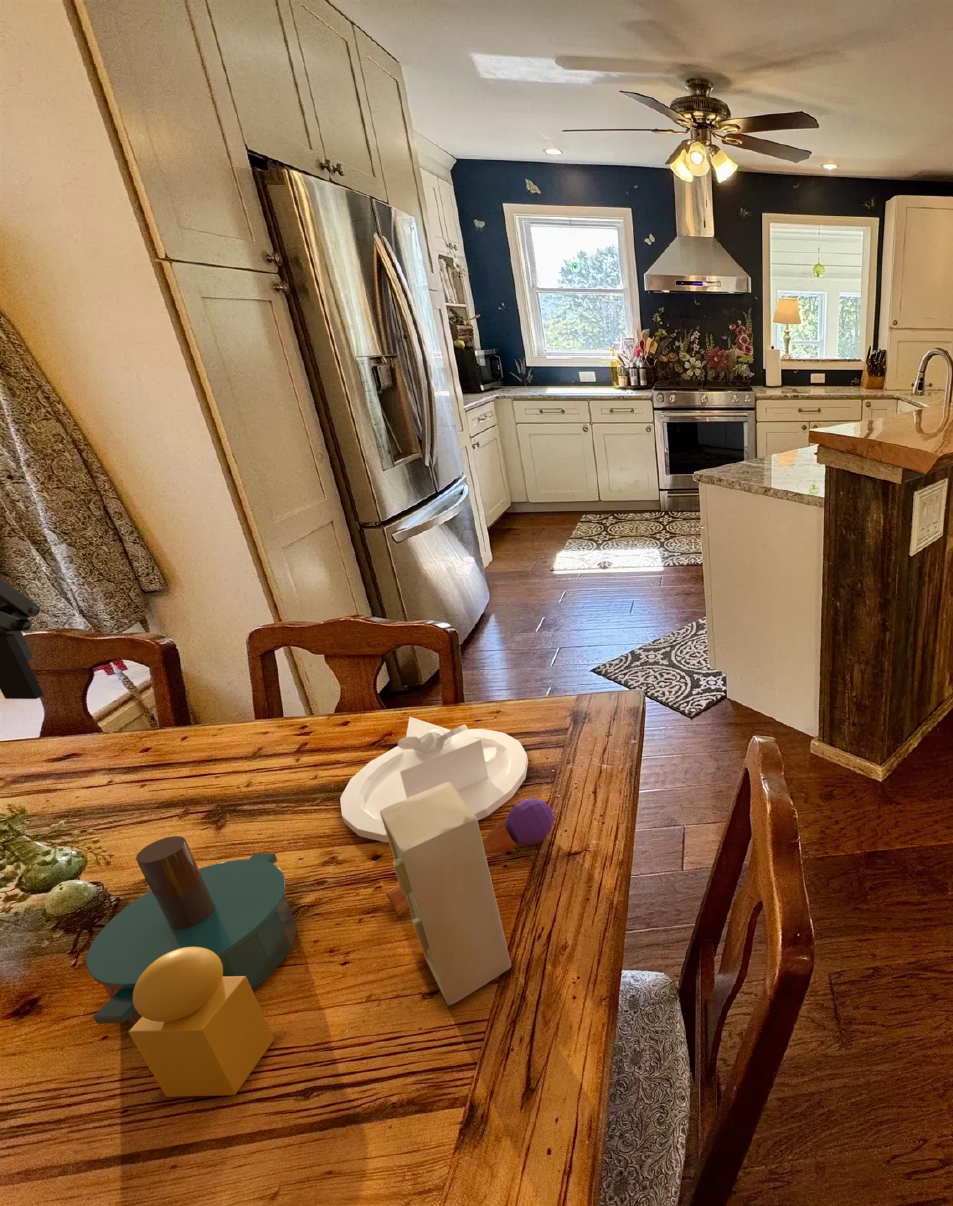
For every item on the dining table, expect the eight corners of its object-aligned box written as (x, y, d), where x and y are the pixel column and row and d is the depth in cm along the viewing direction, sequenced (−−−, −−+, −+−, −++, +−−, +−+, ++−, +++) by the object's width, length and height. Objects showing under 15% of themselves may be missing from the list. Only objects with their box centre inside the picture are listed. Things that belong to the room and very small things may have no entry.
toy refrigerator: (415, 962, 70) (370, 811, 62) (485, 923, 75) (451, 778, 67) (439, 1014, 65) (393, 857, 57) (512, 968, 70) (479, 818, 62)
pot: (49, 1059, 60) (18, 1013, 58) (217, 890, 78) (199, 849, 76) (209, 1055, 61) (185, 1009, 58) (339, 888, 79) (325, 848, 76)
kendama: (376, 873, 76) (534, 784, 89) (394, 912, 78) (546, 819, 91) (390, 894, 72) (554, 798, 85) (409, 934, 74) (566, 834, 87)
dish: (556, 782, 98) (547, 721, 94) (370, 871, 82) (348, 801, 77) (490, 718, 114) (479, 662, 109) (322, 782, 97) (301, 719, 92)
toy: (162, 1101, 57) (98, 992, 52) (213, 1037, 62) (159, 932, 57) (232, 1099, 57) (176, 991, 52) (277, 1036, 63) (230, 931, 57)
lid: (42, 994, 60) (-10, 915, 56) (181, 867, 74) (149, 797, 70) (214, 991, 61) (175, 912, 57) (319, 866, 75) (295, 796, 71)
